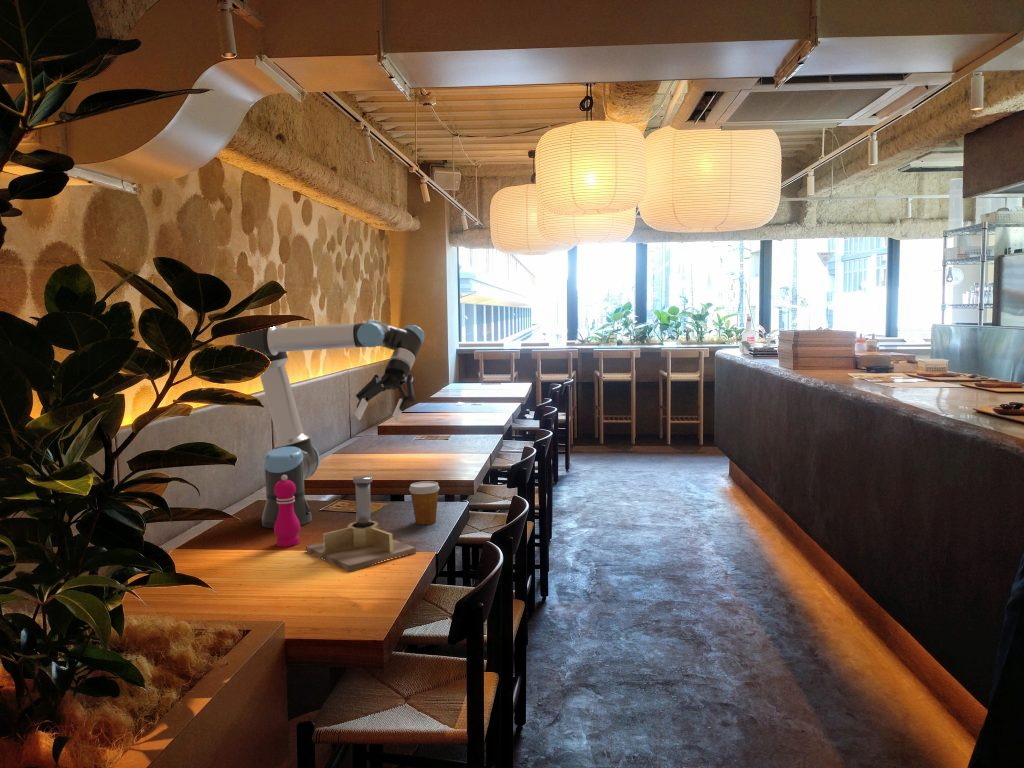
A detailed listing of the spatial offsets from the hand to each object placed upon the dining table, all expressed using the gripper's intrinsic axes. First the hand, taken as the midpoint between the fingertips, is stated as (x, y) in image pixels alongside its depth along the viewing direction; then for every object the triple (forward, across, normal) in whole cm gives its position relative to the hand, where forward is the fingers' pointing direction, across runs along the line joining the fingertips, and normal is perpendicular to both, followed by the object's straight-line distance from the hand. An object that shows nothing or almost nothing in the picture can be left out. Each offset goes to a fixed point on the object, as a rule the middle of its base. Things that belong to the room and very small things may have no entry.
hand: (376, 417), depth 217 cm
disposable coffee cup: (+18, -11, -30) cm, 37 cm away
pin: (+37, -7, -9) cm, 38 cm away
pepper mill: (+40, +16, -8) cm, 44 cm away
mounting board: (+41, -9, -7) cm, 42 cm away
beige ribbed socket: (+41, -10, -5) cm, 42 cm away
